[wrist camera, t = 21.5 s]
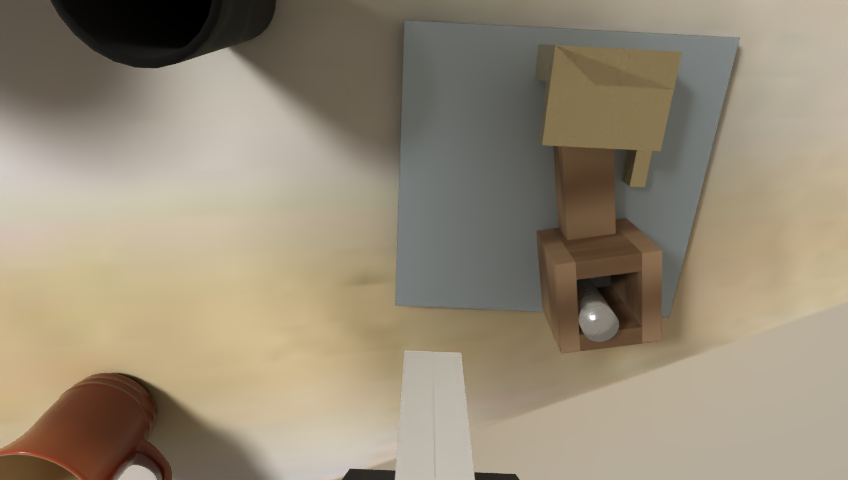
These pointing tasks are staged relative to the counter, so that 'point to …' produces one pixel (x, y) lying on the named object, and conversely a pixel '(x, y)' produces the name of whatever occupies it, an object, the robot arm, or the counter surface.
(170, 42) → the cup
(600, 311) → the cylinder
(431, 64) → the board
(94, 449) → the mug
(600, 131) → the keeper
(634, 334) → the link
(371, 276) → the counter surface
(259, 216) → the counter surface
